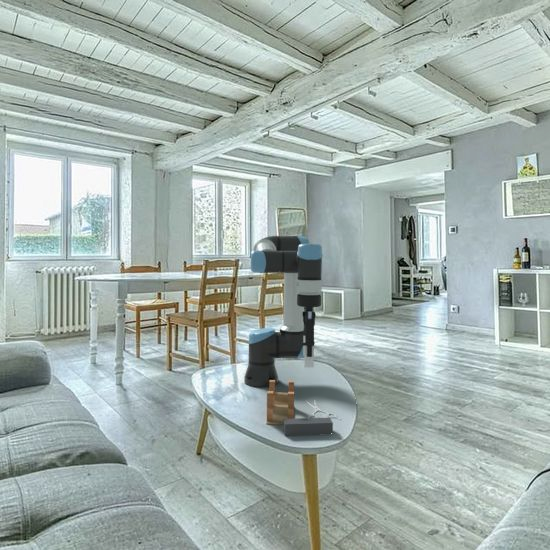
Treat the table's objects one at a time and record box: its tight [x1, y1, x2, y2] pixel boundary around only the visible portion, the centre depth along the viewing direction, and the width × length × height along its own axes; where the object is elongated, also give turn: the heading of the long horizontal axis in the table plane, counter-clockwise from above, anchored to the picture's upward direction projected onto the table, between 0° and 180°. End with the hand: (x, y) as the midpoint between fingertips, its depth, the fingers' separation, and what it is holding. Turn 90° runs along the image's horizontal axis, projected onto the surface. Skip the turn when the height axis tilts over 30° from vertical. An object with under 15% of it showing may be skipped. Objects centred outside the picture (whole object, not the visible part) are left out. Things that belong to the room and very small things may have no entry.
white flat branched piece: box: [305, 399, 341, 420], centre depth 140 cm, size 11×1×20 cm
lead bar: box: [282, 417, 334, 437], centre depth 121 cm, size 15×4×4 cm, turn 95°
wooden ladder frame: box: [265, 380, 295, 426], centre depth 134 cm, size 16×9×10 cm, turn 177°
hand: (308, 361), depth 121 cm, fingers open, 13 cm apart
